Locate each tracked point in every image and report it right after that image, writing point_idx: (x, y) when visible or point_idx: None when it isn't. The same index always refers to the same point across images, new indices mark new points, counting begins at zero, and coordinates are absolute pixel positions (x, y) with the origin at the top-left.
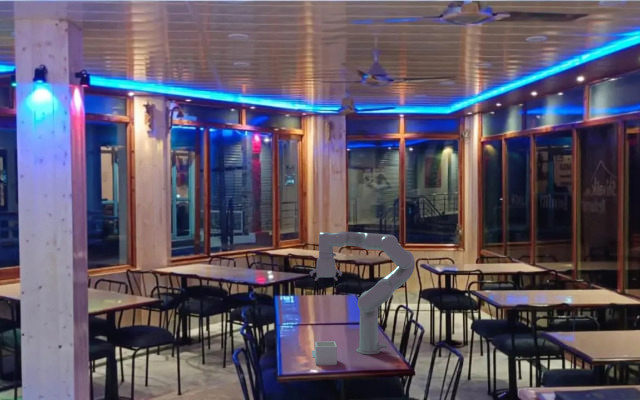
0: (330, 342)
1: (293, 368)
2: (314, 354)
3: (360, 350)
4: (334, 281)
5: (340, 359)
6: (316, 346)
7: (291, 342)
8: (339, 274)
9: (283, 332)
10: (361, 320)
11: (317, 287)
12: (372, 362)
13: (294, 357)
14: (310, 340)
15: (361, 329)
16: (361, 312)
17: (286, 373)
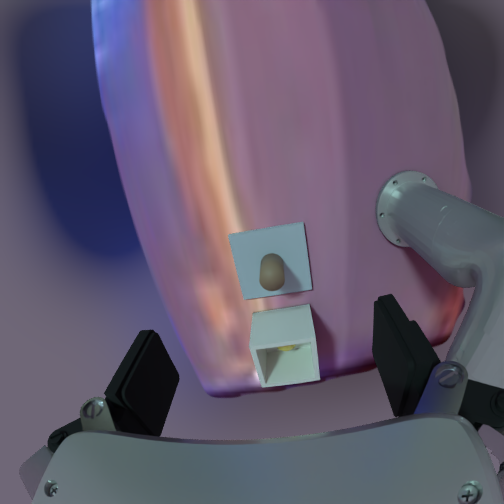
0: (300, 341)
1: (215, 368)
2: (244, 277)
3: (388, 228)
4: (395, 404)
5: (324, 298)
6: (261, 384)
7: (138, 130)
8: (498, 453)
9: (99, 26)
10: (439, 272)
11: (175, 383)
12: (402, 309)
13: (191, 295)
14: (197, 86)
15: (422, 255)
16: (459, 274)
17: (210, 390)
